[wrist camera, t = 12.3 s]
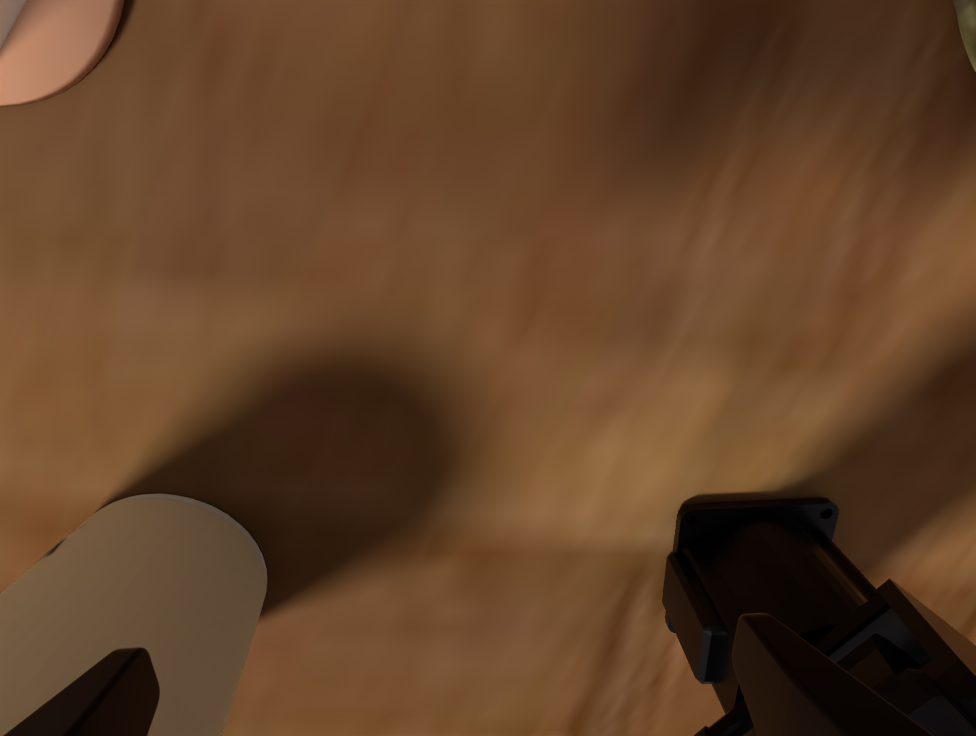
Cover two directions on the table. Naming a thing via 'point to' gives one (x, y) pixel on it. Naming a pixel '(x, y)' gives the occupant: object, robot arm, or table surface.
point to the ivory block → (8, 16)
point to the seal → (967, 26)
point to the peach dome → (54, 47)
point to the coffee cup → (138, 610)
